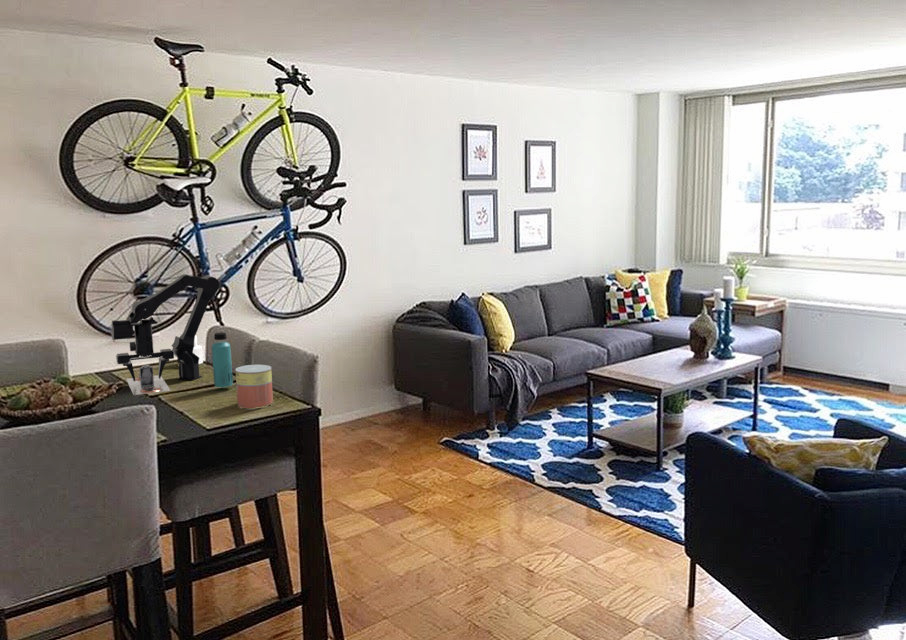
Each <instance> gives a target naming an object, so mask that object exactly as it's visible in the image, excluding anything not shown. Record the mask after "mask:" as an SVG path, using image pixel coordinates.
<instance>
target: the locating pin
mask: <svg viewBox="0 0 906 640" xmlns="http://www.w3.org/2000/svg"><path fill="white" fill-rule="evenodd" d="M139 374H140V382H141V385H152V384H154V378H153V376H154V367H153V366H152V365H150V364H148V365H145V364H144V365H142V366H140V367H139Z"/></svg>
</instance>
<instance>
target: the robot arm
mask: <svg viewBox="0 0 906 640" xmlns="http://www.w3.org/2000/svg"><path fill="white" fill-rule="evenodd" d="M188 287H193V288H197V297H196V300H195V303H194V305H193V308H192V310H191V312H190V315H189V317H188V319H187V322H186V325H185V327H184V330H183V332H182V334H180V336H177V335H175V338H174V340H173V343H172V345H170V346H171V347H172V349H171V348H164V349H163V348H161V349H160V350H159V351H158V352H157V351H154V339H153V328H152V327H153V326H152V325H157V324H158V321H156V319H154V317H152V315H153V314H154V313H155V312H156V311H157V310H158V309H159V307H161V306H162V304H164V303H165V302H167V301H169V299H171V298H173V297H174V296H175V295H177V294H178V293H180V292H181V291H183V290H184V289H186V288H188ZM219 290H220V282H219V279H217V278H216V277H214V276H211V275H204V276H196V275H189V274H186V273H183V274H181V275H180V276H179V277H178V278H177V279H175V280H173V281H172V282H171V283H169V284H167V285H166V286H164V287H163V288H162V289H160V290H158V291H157V292H155V293H154V294H153V295H150V296H147V297H145V298H142V299H140V300H137V301H136V302H135V303H133V304H132V307H131V312H130V313H129V315H128V316H127V318H126V319H120V320H115V319H113V320H112V321H111V328H110V333H111V334H110V335H111V338H112V340H113V341H118V340H119V341H120V340H129V339H132V338H131V337H133V336H134V341H130V342H129V351H130V352H135V353H134V354H129V353H128V352H122V353H117V354H116V356H115V358H116V364H117V365H122V366H123V367H126V368H127V369H128V372H129V373H130V375H131V378H133V380H134V381H135V378H136V376H135V371H134V368H133V362H132V361H136V360H146V359H147V360H148V359H155V358H158V375H159V379H160V378H161V377H162V374H163V370H164V368H165V366H166V364H167V363H168V362H170V360H173V359H174V358H175V357H176V358H179V360H180V361H181V362H179V366H178V365H177V366H178V377H177V378H176V379H177V380H180V381H181V380H182V381H195V380H197V379H201V378H202V377H203V374H202V375H201V374H200V364H199V357H198V356H196V355H195V354H194V353H193V349H194V339H195V335H196V336H197V332H198V330H199V327H200V326H201V323H202V321H203V318H204V315H205V313H206V310H207V308H208V305H209V303H210V301H211V300H212V299H213V298H214V297H215V296H216V294H217V292H218V291H219Z"/></svg>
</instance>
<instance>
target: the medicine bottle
mask: <svg viewBox="0 0 906 640" xmlns="http://www.w3.org/2000/svg"><path fill="white" fill-rule="evenodd" d="M193 353H194V354H195V355H196V356H198V357H199V365H202V364H203V363H204V355H203V353H204V352H203V346H202V345H198V336H197V334H196V335H195V339H194V349H193ZM176 358H177V357H176ZM179 362H181V361H180V360H179V358H177V366H179Z"/></svg>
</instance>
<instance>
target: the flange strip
mask: <svg viewBox="0 0 906 640" xmlns="http://www.w3.org/2000/svg"><path fill="white" fill-rule="evenodd" d="M153 378H154V384H152V385H141V382H140V373H139V374H138V377H135V381H134V380H133V378H132V377H131V378H125V381H126V382H127V384H128V387H129V389H130V391H131V393H132V395H133V396H137V395H145V394H155V393H162V392H163V393H164V392H170V391H171V388H169V386H168V383H166V381H165V379H164V378H163V377H162V376H161V378H160V379H159V375H153Z"/></svg>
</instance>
